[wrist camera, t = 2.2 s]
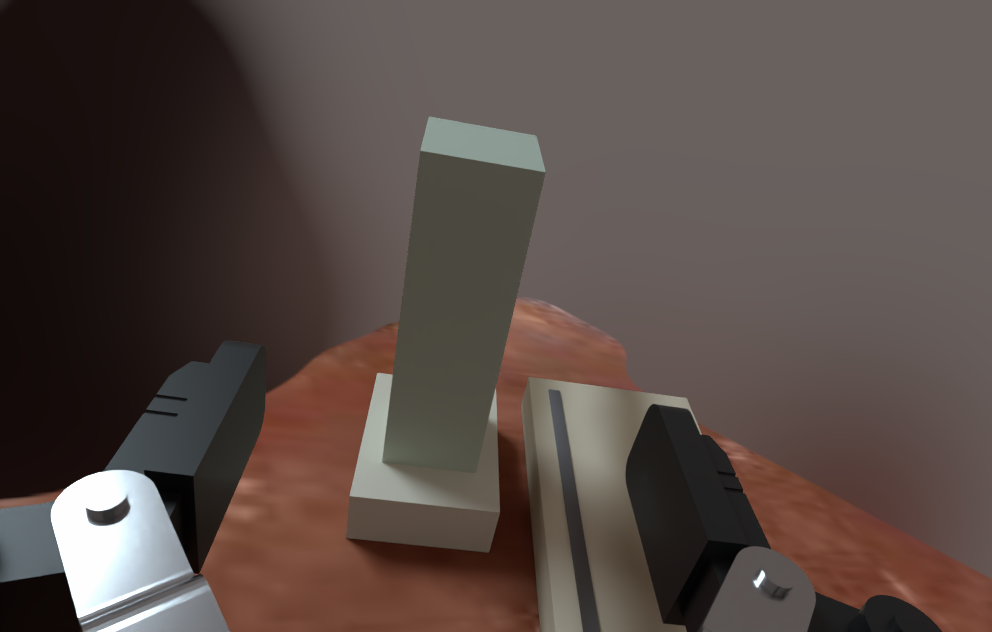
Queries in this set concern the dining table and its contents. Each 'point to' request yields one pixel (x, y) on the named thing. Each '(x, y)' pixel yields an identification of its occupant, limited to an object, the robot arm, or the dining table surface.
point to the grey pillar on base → (449, 344)
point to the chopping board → (587, 507)
